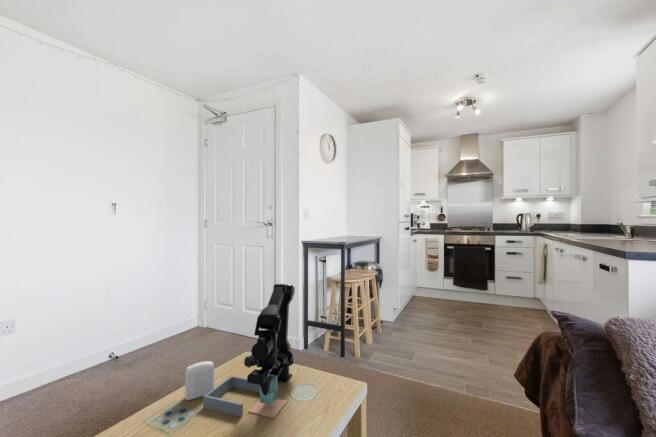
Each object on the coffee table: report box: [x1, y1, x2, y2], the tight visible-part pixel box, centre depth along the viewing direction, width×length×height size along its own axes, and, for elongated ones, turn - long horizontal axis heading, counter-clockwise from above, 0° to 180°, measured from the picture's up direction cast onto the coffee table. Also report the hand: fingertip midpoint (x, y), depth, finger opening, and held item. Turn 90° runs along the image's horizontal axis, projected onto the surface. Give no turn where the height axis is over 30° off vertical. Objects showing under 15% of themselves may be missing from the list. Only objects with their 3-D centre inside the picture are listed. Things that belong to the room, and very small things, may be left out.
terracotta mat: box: [248, 398, 288, 419], centre depth 108 cm, size 10×10×1 cm
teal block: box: [259, 374, 278, 405], centre depth 108 cm, size 4×4×8 cm
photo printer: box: [184, 360, 215, 401], centre depth 116 cm, size 10×4×12 cm, turn 123°
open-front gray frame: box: [202, 375, 260, 418], centre depth 113 cm, size 16×16×4 cm
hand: (268, 391), depth 108 cm, fingers closed on teal block, 4 cm apart
